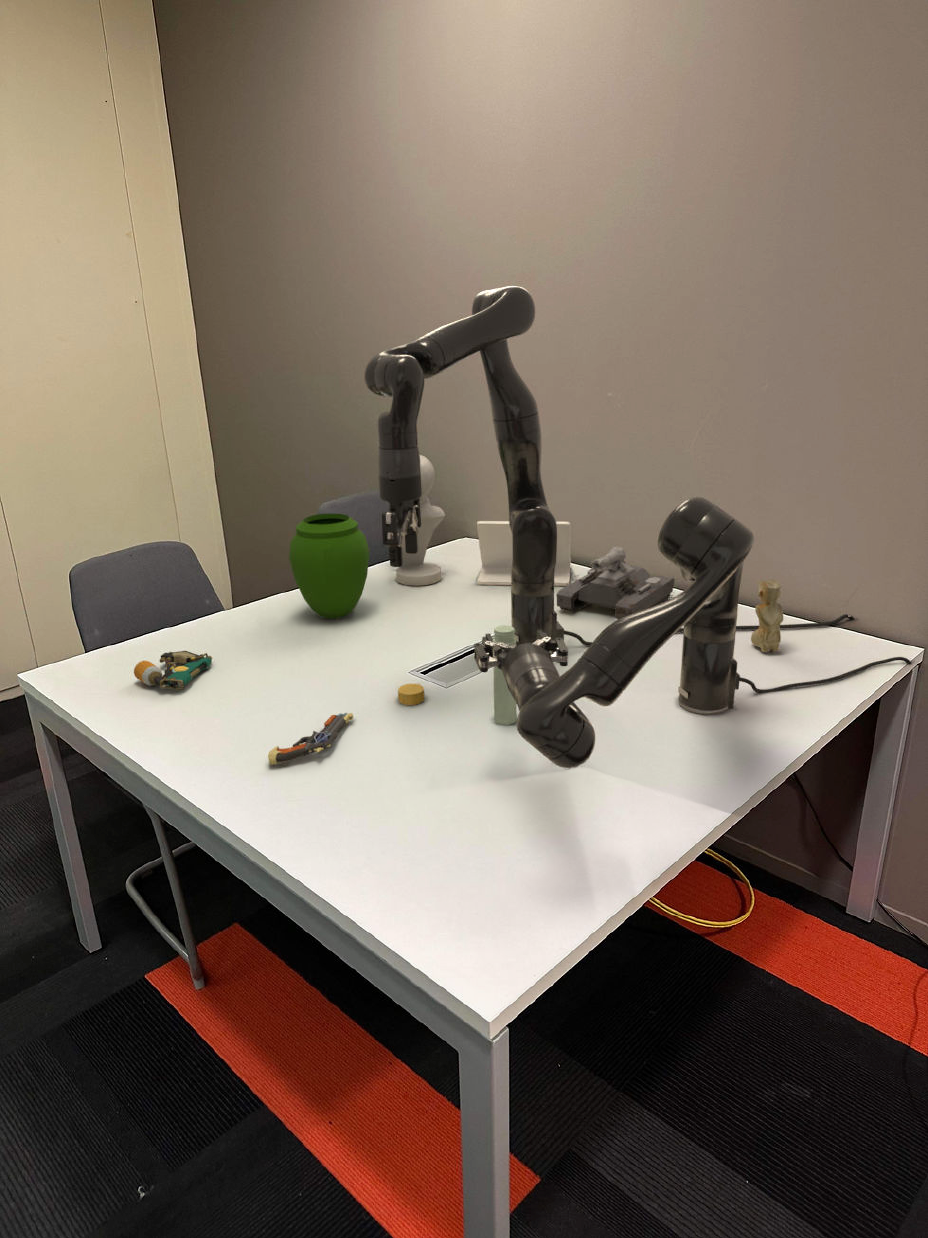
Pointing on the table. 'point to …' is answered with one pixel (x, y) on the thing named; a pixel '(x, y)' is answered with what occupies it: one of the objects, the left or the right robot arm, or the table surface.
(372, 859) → the table surface
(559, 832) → the table surface
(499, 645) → the right robot arm
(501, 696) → the jar
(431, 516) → the bust sculpture
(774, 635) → the sculpture
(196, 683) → the table surface
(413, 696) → the lid
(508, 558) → the tablet stand
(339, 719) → the toy gun
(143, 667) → the spray gun
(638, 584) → the toy
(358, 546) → the vase
